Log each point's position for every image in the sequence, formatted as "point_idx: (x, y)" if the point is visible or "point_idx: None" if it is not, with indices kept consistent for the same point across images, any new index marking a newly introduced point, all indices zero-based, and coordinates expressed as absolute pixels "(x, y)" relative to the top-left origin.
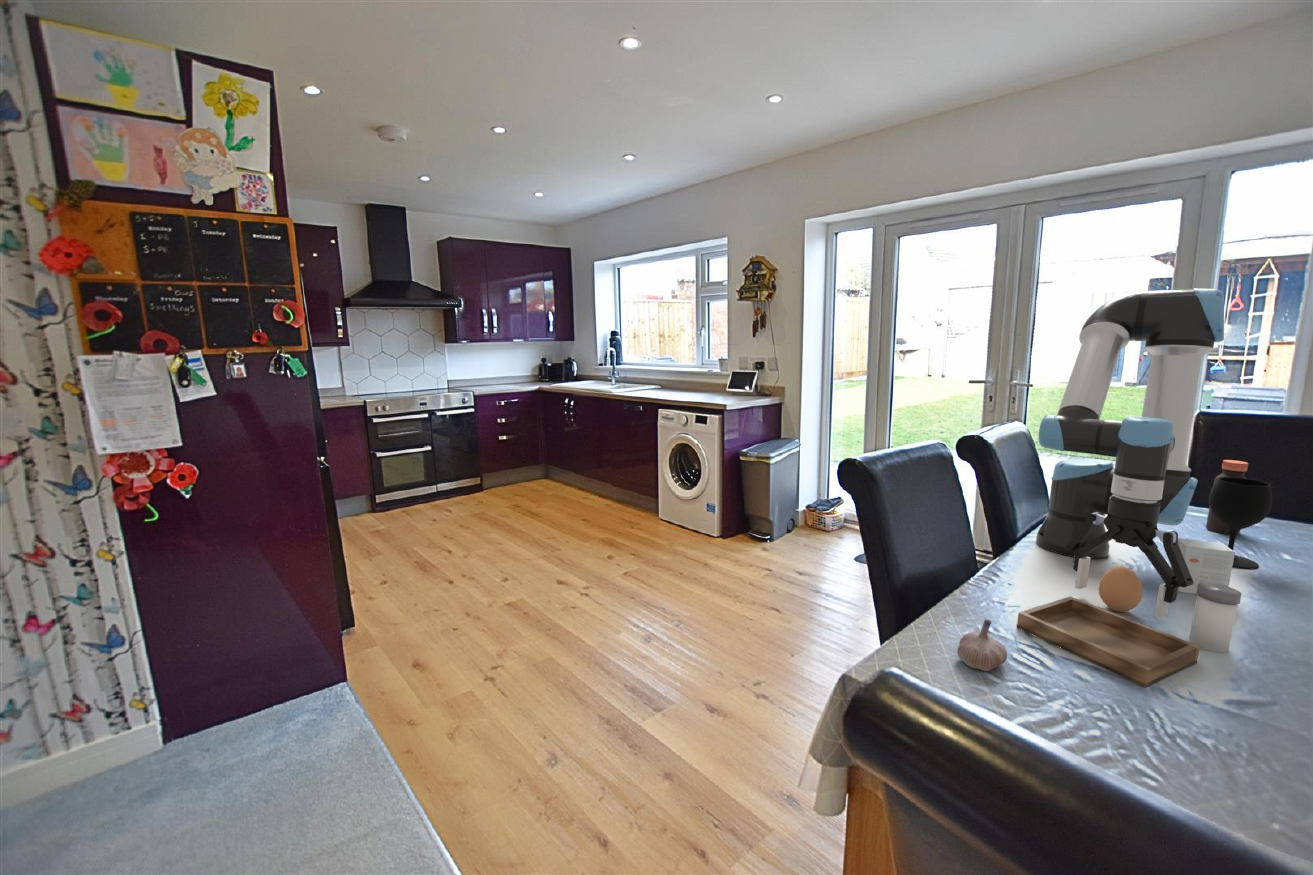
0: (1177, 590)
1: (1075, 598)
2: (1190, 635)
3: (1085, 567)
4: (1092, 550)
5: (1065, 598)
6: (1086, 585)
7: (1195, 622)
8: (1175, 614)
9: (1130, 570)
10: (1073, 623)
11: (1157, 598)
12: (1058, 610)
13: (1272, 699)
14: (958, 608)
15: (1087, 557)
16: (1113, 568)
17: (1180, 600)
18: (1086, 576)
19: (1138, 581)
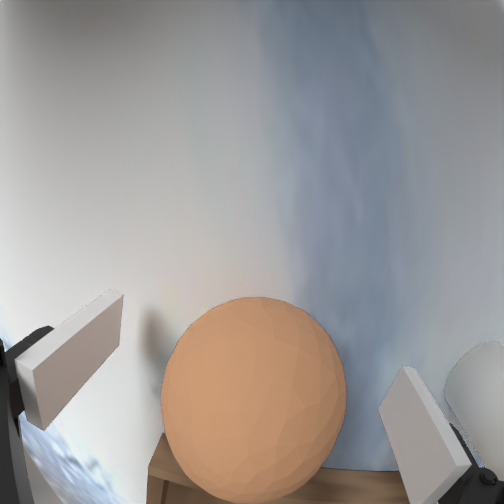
0: (473, 460)
1: (164, 470)
2: (451, 403)
3: (67, 373)
4: (13, 436)
5: (150, 480)
6: (120, 299)
7: (471, 441)
8: (428, 198)
9: (283, 485)
10: (209, 499)
11: (397, 460)
12: (165, 492)
13: None
14: (70, 499)
15: (26, 379)
16: (193, 478)
17: (409, 24)
18: (96, 328)
19: (330, 452)
